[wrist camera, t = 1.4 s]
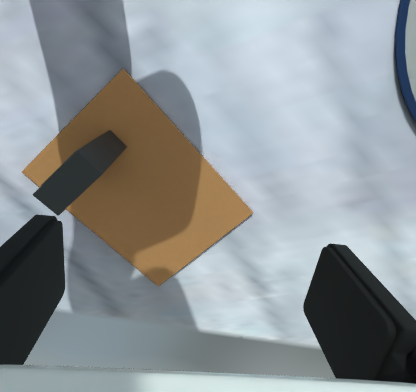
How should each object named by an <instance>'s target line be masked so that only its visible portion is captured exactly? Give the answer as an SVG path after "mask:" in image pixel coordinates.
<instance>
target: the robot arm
mask: <svg viewBox="0 0 416 392" xmlns="http://www.w3.org/2000/svg"><path fill="white" fill-rule="evenodd" d="M64 290H65V271H64V249H63V227H62V222H61V221H57V218H56V217H55V216H46V215H35V216H34V217H33V218H32V219H31V220H30V221H28V222H27V223H26V224H25V225H24V226H23V227H22V228H21V229H20V230H18V231H17V232H16V233H15V234H14V235H13V236H12V237H11V238H10V239H9V240H7V241H6V242H5V243H4V244H3V245H2V246H1V247H0V392H416V320H415V319H414V318H413V317H412V316H411V315H410V314H409V313H408V312H407V310H406V309H405V308H404V307H403V306H402V305H401V304H400V303H399V302H398V301H397V300H396V299H395V298H394V296H393V295H392V294H391V293H390V292H389V291H388V290H387V289H386V288H385V287H384V286H383V285H382V283H381V282H380V281H379V280H378V279H377V278H376V277H375V276H374V275H373V274H372V273H371V272H370V270H369V269H368V268H367V267H366V266H365V265H364V264H363V263H362V262H361V261H360V260H359V259H358V257H357V256H356V255H355V254H354V253H353V252H352V251H351V250H350V249H349V248H348V247H347V246H346V245H339V244H328V246H327V247H324V248H323V249H322V251H321V254H320V257H319V260H318V263H317V266H316V269H315V272H314V275H313V278H312V281H311V284H310V287H309V290H308V293H307V296H306V299H305V301H304V313H305V315H306V317H307V320H308V322H309V324H310V326H311V328H312V330H313V332H314V334H315V336H316V338H317V340H318V342H319V344H320V346H321V348H322V351H323V353H324V354H325V357H326V359H327V361H328V363H329V365H330V367H331V369H332V371H333V373H334V375H335V377H336V378H317V377H299V376H298V377H297V376H280V375H260V374H237V373H216V372H194V371H173V370H172V371H171V370H149V369H148V370H147V369H124V368H99V367H73V366H43V365H23V364H24V362H25V361H26V359H27V357H28V355H29V354H30V352H31V350H32V348H33V347H34V345H35V343H36V341H37V340H38V338H39V336H40V335H41V333H42V331H43V329H44V328H45V326H46V324H47V322H48V321H49V319H50V317H51V315H52V314H53V312H54V310H55V308H56V307H57V305H58V303H59V301H60V300H61V298H62V296H63V294H64Z"/></svg>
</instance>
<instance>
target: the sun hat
mask: <svg viewBox="0 0 416 392" xmlns="http://www.w3.org/2000/svg"><path fill="white" fill-rule="evenodd" d="M396 62H397V70H398V77H399V81H400V85H401V89H402V94H403V97H404V99H405V102H406V104H407V107H408V109H409V112H410V113H411V115H412V117H413V118H414V120H415V122H416V0H401V1H400V5H399V11H398V19H397V26H396Z"/></svg>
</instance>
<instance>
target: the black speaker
mask: <svg viewBox="0 0 416 392" xmlns="http://www.w3.org/2000/svg"><path fill="white" fill-rule="evenodd" d="M126 148H127V146H126V145H125V144H124V143H123V142H122V141H121V140H120V139H119V138H118V137H117V136H116V135H115V134H114V133H113V132H112V131H111V130H109V131H107V132H106V133H104V134H102V135H100V136H98V137H97V138H95V139H94V140H92V141H91V142H89V143H88V144H86V145H84V146H83V147H81V148H80V149H78V150H77V151H75V152H74V153H73V154H72V155H71V156H70V157H69V158H68V159H67V160H66V161H65V162H64V163H63V164H62V165H61V166H60V167H59V168H58V169H57V170H56V171H55V172H54V173H53V174H52V175H51V176H50V177H49V178H48V179H47V180H46V181H45V182H44V183H43V184H42V185H41V187H40V188H39V189H38V190H37V191H36V192H35V193H34V194H33V196H34V197H36V198H37V199H38V200H39V201H41V202H42V203H43V204H44V205H46V206H47V207H48V208H49V209H50V210H52V211H53V212H54V213H55V214H57V215H60V214H61V213H62V212H63V211H64V210H65V209H66V208H67V207H68V206H69V205H70V204H71V203H72V202H74V201H75V200H76V199H77V198H78V197H79V196H80V195H81V194H82V193H83V192H84V191H85V190H86V189H87V188H89V187H90V186H91V185H92V184H93V183H94V182H95V181H96V180H97V179H98V178H99V177H100V176H101V175H102V174H103V173H104V172H105V171H106V170H107V169H108V168H109V167H110V166H111V164H112V163H113V162H114V161H115V160H116V159H117V158H118V157H119V156H120V155H121V153H122V152H123V151H124V150H125V149H126Z"/></svg>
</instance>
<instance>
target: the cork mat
mask: <svg viewBox="0 0 416 392" xmlns="http://www.w3.org/2000/svg"><path fill="white" fill-rule="evenodd" d="M109 130H111V131H112V132H113V133H114V134H115V135H116V136H117V137H118V138H119V139H120V140H121V141H122V142H123V143H124V144H125V145H126V146H127V148H126V149H125V150H124V151H123V152H122V153H121V155H120V156H119V157H118V158H117V159H116V160H115V161H114V162H113V163H112V164H111V166H110V167H109V168H108V169H107V170H106V171H105V172H104V173H103V174H102V175H101V176H100V177H99V178H98V179H97V180H96V181H95V182H94V183H93V184H92V185H91V186H90V187H89V188H87V189H86V190H85V191H84V192H83V193H82V194H81V195H80V196H79V197H78V198H77V199H76V200H75V201H74V202H72V203H71V204H70V205H69V206H68V207H67V208H66V210H68V211H69V212H70V213H71V214H72V215H74V216H75V217H76V218H77V219H78V220H80V221H81V222H82V223H83V224H84V225H86V226H87V227H88V228H89V229H90V230H92V231H93V232H94V233H95V234H96V235H98V236H99V237H100V238H101V239H102V240H104V241H105V242H106V243H107V244H108V245H110V246H111V247H112V248H113V249H114V250H116V251H117V252H118V253H119V254H120V255H122V256H123V257H124V258H125V259H126V260H128V261H129V262H130V263H131V264H132V265H134V266H135V267H136V268H137V269H138V270H140V271H141V272H142V273H143V274H144V275H145V276H147V277H148V278H149V279H150V280H151V281H153V282H154V283H155V284H156V285H157V286H160V285H161V284H162V283H164V282H165V281H166V280H167V279H169V278H170V277H171V276H173V275H174V274H175V273H176V272H178V271H179V270H180V269H182V268H183V267H184V266H186V265H187V264H188V263H189V262H191V261H192V260H193V259H195V258H196V257H197V256H198V255H200V254H201V253H202V252H204V251H205V250H206V249H208V248H209V247H210V246H211V245H213V244H214V243H215V242H217V241H218V240H219V239H220V238H222V237H223V236H224V235H226V234H227V233H228V232H230V231H231V230H232V229H233V228H235V227H236V226H237V225H239V224H240V223H241V222H242V221H244V220H245V219H246V218H248V217H249V216H250V215H251V214H253V212H252V211H251V210H250V208H249V207H248V206H247V205H246V204H245V203H244V202H243V201H242V200H241V198H240V197H239V196H238V195H237V194H236V193H235V192H234V191H233V190H232V188H231V187H230V186H229V185H228V184H227V183H226V182H225V181H224V180H223V178H222V177H221V176H220V175H219V174H218V173H217V172H216V171H215V170H214V168H213V167H212V166H211V165H210V164H209V163H208V162H207V161H206V160H205V158H204V157H203V156H202V155H201V154H200V153H199V152H198V151H197V150H196V148H195V147H194V146H193V145H192V144H191V143H190V142H189V141H188V140H187V138H186V137H185V136H184V135H183V134H182V133H181V132H180V131H179V130H178V128H177V127H176V126H175V125H174V124H173V123H172V122H171V121H170V120H169V118H168V117H167V116H166V115H165V114H164V113H163V112H162V111H161V110H160V108H159V107H158V106H157V105H156V104H155V103H154V102H153V101H152V100H151V98H150V97H149V96H148V95H147V94H146V93H145V92H144V91H143V90H142V88H141V87H140V86H139V85H138V84H137V83H136V82H135V81H134V80H133V78H132V77H131V76H130V75H129V74H128V73H127V72H126V71H125V70H124V69H122V70H121V71H120V72H119V73H118V74H117V75H116V76H115V77H114V78H113V79H112V80H111V81H110V82H109V83H108V84H107V85H106V86H105V87H104V88H103V89H102V90H101V91H100V92H99V93H98V94H97V95H96V96H95V97H94V98H93V99H92V101H91V102H90V103H89V104H88V105H87V106H86V107H85V108H84V109H83V110H82V111H81V112H80V113H79V114H78V115H77V116H76V117H75V118H74V119H73V120H72V121H71V122H70V123H69V124H68V125H67V126H66V127H65V128H64V129H63V130H62V131H61V132H60V133H59V134H58V135H57V136H56V137H55V138H54V139H53V140H52V141H51V142H50V143H49V144H48V145H47V146H46V147H45V149H44V150H43V151H42V152H41V153H40V154H39V155H38V156H37V157H36V158H35V159H34V160H33V161H32V162H31V163H30V164H29V165H28V166H27V167H26V168H25V169H24V170H23V171H22V173H23V174H25V175H26V176H27V177H28V178H29V179H31V180H32V181H33V182H34V183H35V184H37V185H38V186H39V187H41V185H42V184H43V183H44V182H45V181H46V180H47V179H48V178H49V177H50V176H51V175H52V174H53V173H54V172H55V171H56V170H57V169H58V168H59V167H60V166H61V165H62V164H63V163H64V162H65V161H66V160H67V159H68V158H69V157H70V156H71V155H72V154H73V153H74V152H75V151H77V150H78V149H80V148H81V147H83V146H84V145H86V144H88V143H89V142H91V141H92V140H94V139H95V138H97V137H98V136H100V135H102V134H104V133H106V132H107V131H109Z"/></svg>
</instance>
